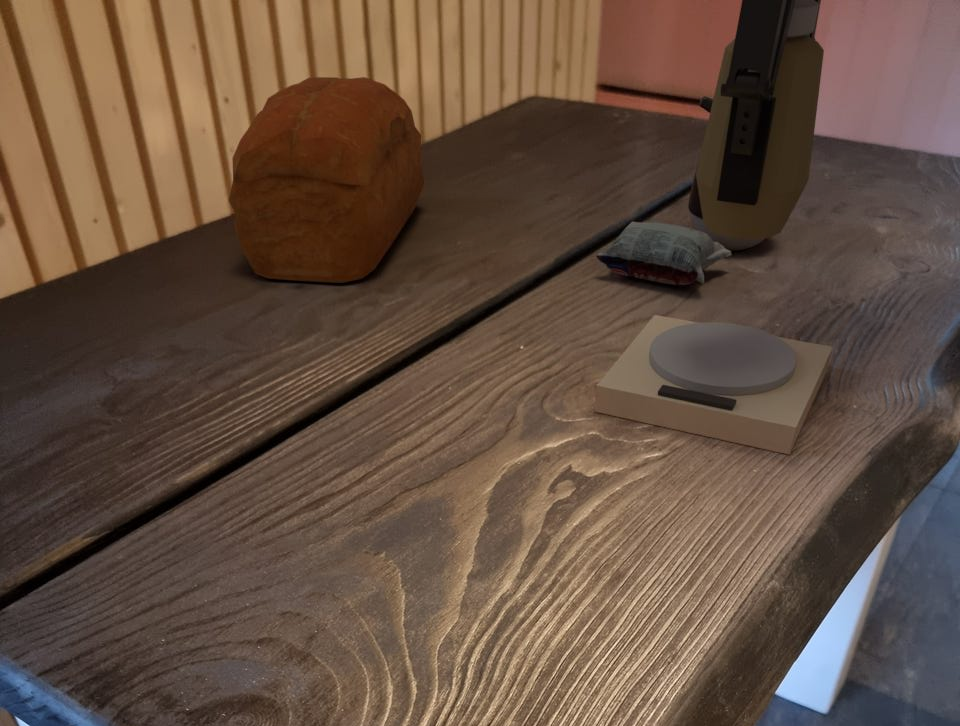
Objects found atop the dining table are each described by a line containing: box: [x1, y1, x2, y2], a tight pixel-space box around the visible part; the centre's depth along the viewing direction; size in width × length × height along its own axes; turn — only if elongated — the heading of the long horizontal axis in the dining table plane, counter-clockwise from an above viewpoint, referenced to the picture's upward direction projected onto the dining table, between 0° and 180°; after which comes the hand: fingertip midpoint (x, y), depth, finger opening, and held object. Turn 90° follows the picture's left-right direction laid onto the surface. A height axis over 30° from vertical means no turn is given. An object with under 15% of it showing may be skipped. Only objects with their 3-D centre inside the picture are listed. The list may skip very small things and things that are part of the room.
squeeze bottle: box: [695, 0, 825, 239], centre depth 64 cm, size 8×8×18 cm
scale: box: [594, 314, 834, 456], centre depth 77 cm, size 16×15×3 cm
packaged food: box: [595, 221, 733, 286], centre depth 96 cm, size 9×12×5 cm
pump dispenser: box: [687, 95, 766, 252], centre depth 99 cm, size 10×10×15 cm
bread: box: [228, 76, 425, 284], centre depth 101 cm, size 16×27×16 cm, turn 170°
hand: (752, 183), depth 68 cm, fingers closed on squeeze bottle, 8 cm apart
